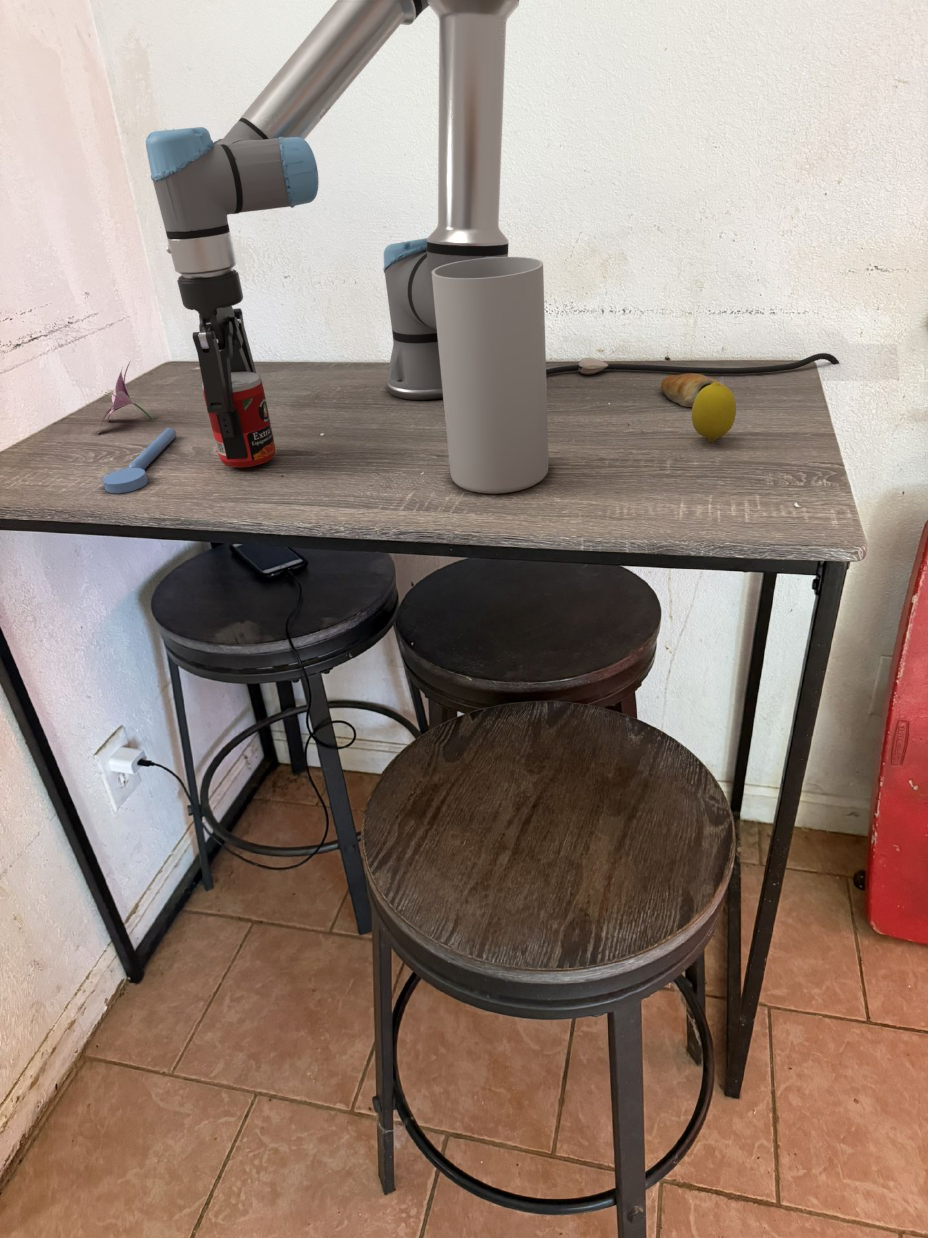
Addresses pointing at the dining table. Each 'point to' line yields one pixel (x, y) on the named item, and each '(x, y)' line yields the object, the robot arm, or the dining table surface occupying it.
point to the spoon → (137, 466)
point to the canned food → (248, 421)
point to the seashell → (591, 366)
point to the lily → (121, 396)
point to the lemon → (714, 411)
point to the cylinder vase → (493, 371)
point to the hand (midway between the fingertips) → (246, 446)
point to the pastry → (684, 387)
